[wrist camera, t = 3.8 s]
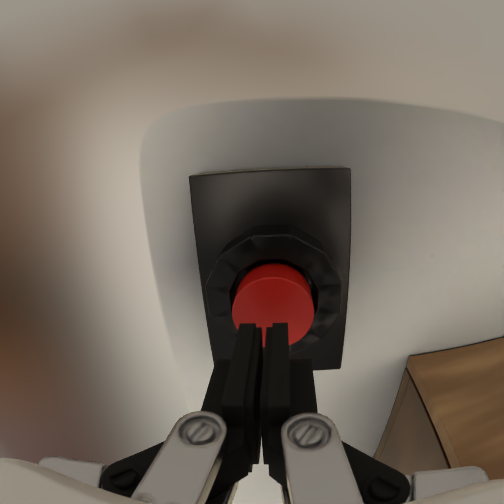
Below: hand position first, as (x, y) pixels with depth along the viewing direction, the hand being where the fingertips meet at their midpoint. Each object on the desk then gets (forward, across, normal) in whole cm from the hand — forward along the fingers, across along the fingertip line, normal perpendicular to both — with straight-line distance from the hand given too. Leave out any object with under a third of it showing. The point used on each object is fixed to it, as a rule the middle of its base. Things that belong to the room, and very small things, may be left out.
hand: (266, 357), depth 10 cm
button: (+5, 0, 0) cm, 5 cm away
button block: (+8, 0, 0) cm, 8 cm away
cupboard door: (+8, -23, +4) cm, 25 cm away
